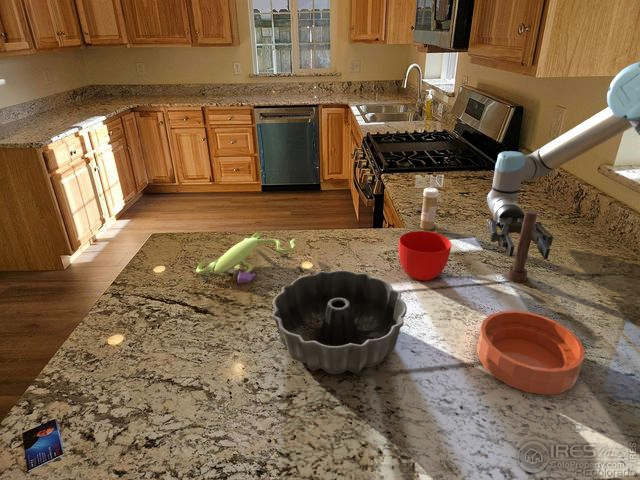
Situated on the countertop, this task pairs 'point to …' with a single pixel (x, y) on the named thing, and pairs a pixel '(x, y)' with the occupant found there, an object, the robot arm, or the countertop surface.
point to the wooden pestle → (523, 248)
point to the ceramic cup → (423, 254)
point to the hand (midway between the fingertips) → (529, 252)
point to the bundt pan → (339, 320)
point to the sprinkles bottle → (429, 208)
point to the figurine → (240, 258)
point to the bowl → (530, 352)
